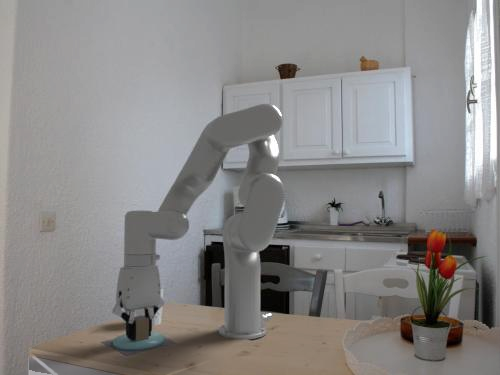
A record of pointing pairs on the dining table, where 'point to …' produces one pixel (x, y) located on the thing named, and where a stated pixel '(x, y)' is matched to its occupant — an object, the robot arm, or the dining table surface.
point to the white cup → (157, 316)
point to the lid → (139, 337)
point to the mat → (127, 353)
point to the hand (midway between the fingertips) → (139, 336)
